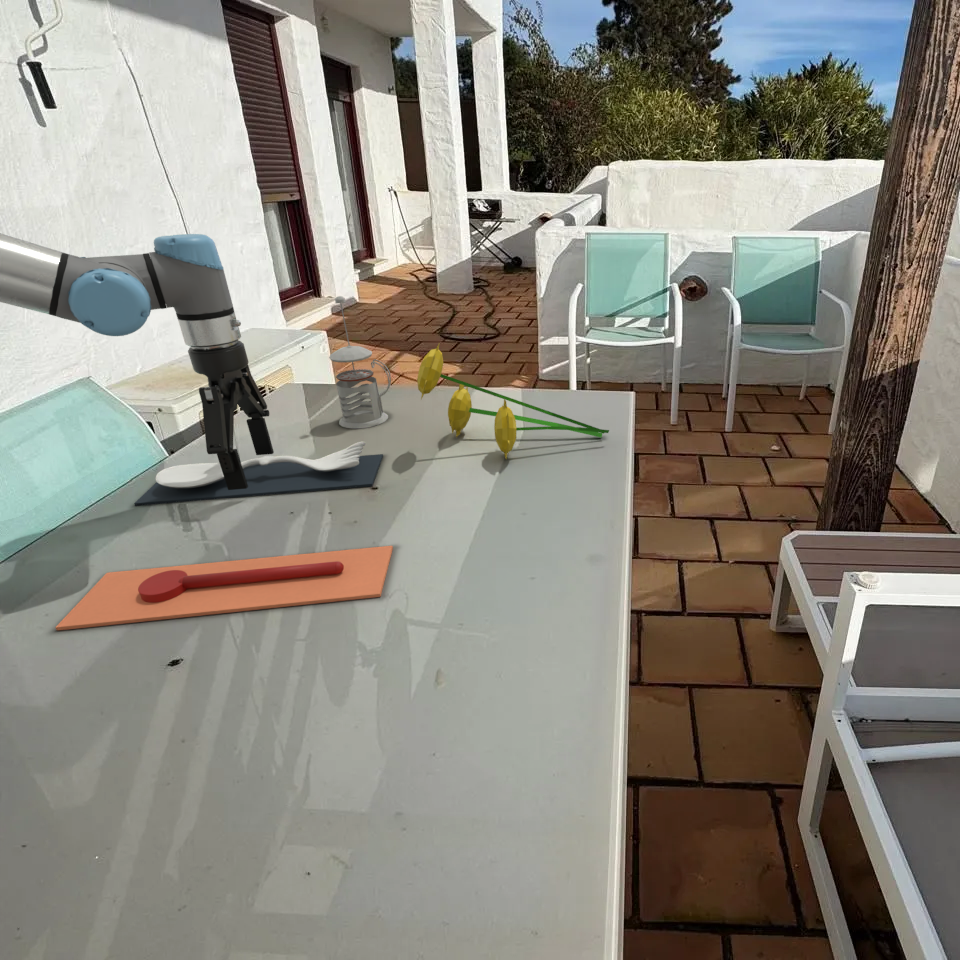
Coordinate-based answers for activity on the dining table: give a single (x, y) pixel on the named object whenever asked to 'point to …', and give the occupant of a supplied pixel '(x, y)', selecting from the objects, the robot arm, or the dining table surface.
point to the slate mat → (272, 482)
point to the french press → (368, 410)
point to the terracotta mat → (232, 589)
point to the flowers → (504, 417)
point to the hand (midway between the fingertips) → (252, 470)
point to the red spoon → (226, 579)
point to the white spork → (212, 471)
